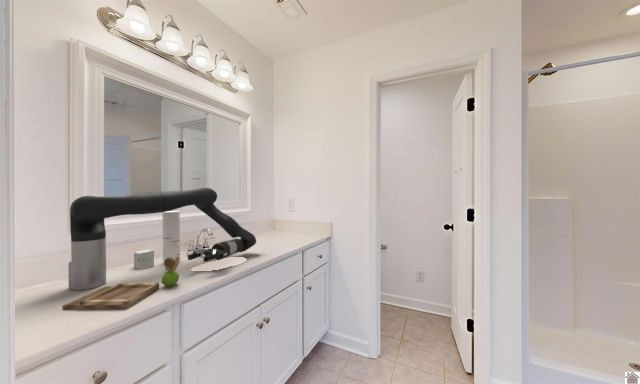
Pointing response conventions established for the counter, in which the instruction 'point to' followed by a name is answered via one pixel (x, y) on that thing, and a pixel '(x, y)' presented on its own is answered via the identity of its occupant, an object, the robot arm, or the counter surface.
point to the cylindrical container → (171, 234)
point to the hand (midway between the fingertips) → (196, 258)
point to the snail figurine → (170, 271)
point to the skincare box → (143, 259)
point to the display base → (114, 296)
